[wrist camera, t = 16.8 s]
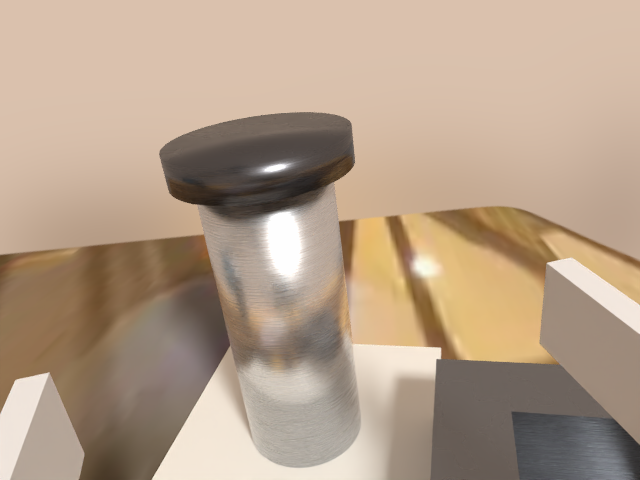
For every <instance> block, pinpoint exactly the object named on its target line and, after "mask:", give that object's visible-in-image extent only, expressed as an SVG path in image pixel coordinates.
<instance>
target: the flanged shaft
mask: <svg viewBox="0 0 640 480" xmlns="http://www.w3.org/2000/svg"><path fill="white" fill-rule="evenodd" d="M159 155H160V159H161V163H162V167H163V171H164V174H165V178H166V182H167V186H168V190H169V193H170V194H171V195H172V196H173V197H175V198H176V199H178V200H181V201H184V202H187V203H191V204H197V205H198V210H199V214H200V218H201V223H202V227H203V231H204V235H205V239H206V244H207V248H208V252H209V256H210V261H211V265H212V269H213V273H214V277H215V282H216V286H217V290H218V294H219V299H220V303H221V307H222V311H223V316H224V320H225V324H226V328H227V332H228V337H229V341H230V345H231V349H232V354H233V358H234V362H235V366H236V370H237V375H238V379H239V383H240V387H241V392H242V396H243V400H244V404H245V408H246V413H247V417H248V421H249V425H250V430H251V434H252V438H253V441H254V444H255V446H256V448H257V450H258V451H259V452H260V453H261V454H262V455H263V456H264V457H265V458H266V459H268V460H269V461H271V462H273V463H276V464H278V465H281V466H285V467H291V468H307V467H313V466H317V465H321V464H324V463H326V462H329V461H331V460H333V459H335V458H337V457H338V456H340V455H341V454H343V453H344V452H345V451H346V450H347V449H348V448H349V447H350V446H351V445H352V444H353V443H354V441H355V440H356V438H357V436H358V434H359V431H360V428H361V411H360V402H359V394H358V385H357V376H356V368H355V359H354V351H353V342H352V333H351V325H350V316H349V308H348V299H347V290H346V282H345V273H344V265H343V256H342V247H341V239H340V230H339V221H338V213H337V205H336V196H335V188H334V181H336V180H338V179H340V178H341V177H343V176H344V175H346V174H347V173H348V172H349V171H350V170H351V169H352V167H353V166H354V163H355V157H354V146H353V136H352V126H351V122H350V121H349V120H347V119H346V118H344V117H341V116H337V115H333V114H326V113H313V112H312V113H311V112H300V113H281V114H270V115H261V116H254V117H248V118H243V119H237V120H232V121H228V122H223V123H219V124H215V125H211V126H208V127H204V128H201V129H198V130H195V131H192V132H189V133H187V134H185V135H182V136H180V137H178V138H176V139H174V140H172V141H170V142H169V143H167V144H166V145H165V146H164V147H163V148H162V149H161V150H160V154H159Z"/></svg>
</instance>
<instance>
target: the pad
mask: <svg viewBox="0 0 640 480" xmlns="http://www.w3.org/2000/svg"><path fill="white" fill-rule="evenodd" d="M353 351H354V359H355V368H356V376H357V385H358V394H359V402H360V411H361V428H360V431H359V434H358V436H357V438H356V440H355V441H354V443H353V444H352V445H351V446H350V447H349V448H348V449H347V450H346V451H345V452H344V453H343V454H341V455H340V456H338V457H337V458H335V459H333V460H331V461H329V462H326V463H324V464H321V465H317V466H313V467H307V468H291V467H285V466H281V465H278V464H276V463H273V462H271V461H269V460H268V459H266V458H265V457H264V456H263V455H262V454H261V453H260V452H259V451H258V450H257V448H256V446H255V444H254V441H253V438H252V434H251V430H250V425H249V421H248V417H247V413H246V408H245V404H244V400H243V396H242V392H241V387H240V383H239V379H238V375H237V370H236V366H235V362H234V358H233V354H232V349H231V345H230V347H229V349H228V350H227V352H226V354H225V356H224V357H223V359H222V361H221V362H220V364H219V366H218V367H217V369H216V371H215V373H214V374H213V376H212V378H211V379H210V381H209V383H208V385H207V386H206V388H205V390H204V391H203V393H202V395H201V396H200V398H199V400H198V402H197V403H196V405H195V407H194V408H193V410H192V412H191V414H190V415H189V417H188V419H187V420H186V422H185V424H184V426H183V427H182V429H181V431H180V432H179V434H178V436H177V437H176V439H175V441H174V443H173V444H172V446H171V448H170V449H169V451H168V453H167V455H166V456H165V458H164V460H163V461H162V463H161V465H160V466H159V468H158V470H157V472H156V473H155V475H154V477H153V478H152V480H430V477H431V457H432V437H433V417H434V396H435V376H436V359H441V348H434V347H411V346H387V345H363V344H353Z"/></svg>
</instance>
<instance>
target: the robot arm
mask: <svg viewBox="0 0 640 480" xmlns="http://www.w3.org/2000/svg"><path fill="white" fill-rule="evenodd" d="M540 344H541V345H542V346H543V347H544V348H545V349H546V350H547V351H548V353H549V354H550V355H551V356H552V357H553V358H554V359H555V360H556V361H557V362H558V363H559V364H560V365H561V366H562V367H563V368H564V369H565V370H566V371H567V372H568V373H569V374H570V375H571V376H572V377H573V378H574V379H575V380H576V381H577V382H578V383H579V384H580V385H581V386H582V387H583V388H584V389H585V390H586V391H587V392H588V393H589V394H590V395H591V396H592V397H593V398H594V399H595V400H596V401H597V402H598V403H599V404H600V405H601V406H602V407H603V408H604V409H605V410H606V411H607V412H608V413H609V414H610V415H611V416H612V417H613V418H614V419H615V420H616V421H617V422H618V423H619V424H620V425H621V426H622V427H623V428H624V429H625V430H626V431H627V432H628V433H629V434H630V435H631V436H632V437H633V438H634V439H635V441H636V442H637V443H638V444H639V445H640V305H639V304H637V303H636V302H634V301H633V300H632V299H630V298H629V297H627V296H626V295H625V294H623V293H622V292H620V291H619V290H617V289H616V288H615V287H613V286H612V285H610V284H609V283H607V282H606V281H605V280H603V279H602V278H600V277H599V276H597V275H596V274H595V273H593V272H592V271H590V270H589V269H587V268H586V267H585V266H583V265H582V264H580V263H579V262H577V261H576V260H575V259H573V258H567V259H562V260H558V261H553V262H549V263H547V264H546V276H545V287H544V298H543V309H542V320H541V332H540ZM84 455H85V454H84V452H83V449H82V447H81V445H80V442H79V440H78V438H77V436H76V433H75V431H74V429H73V426H72V424H71V422H70V419H69V417H68V415H67V412H66V410H65V408H64V405H63V403H62V401H61V399H60V396H59V394H58V392H57V389H56V387H55V385H54V382H53V380H52V378H51V375H50V373H45V374H41V375H36V376H32V377H27V378H22V379H18V380H15V383H14V385H13V387H12V389H11V392H10V394H9V396H8V398H7V400H6V403H5V405H4V407H3V409H2V412H1V414H0V480H79V477H80V472H81V468H82V464H83V459H84Z"/></svg>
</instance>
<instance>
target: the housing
mask: <svg viewBox="0 0 640 480" xmlns="http://www.w3.org/2000/svg"><path fill="white" fill-rule="evenodd" d="M430 480H640V445H639V444H638V443H637V442H636V441H635V439H634V438H633V437H632V436H631V435H630V434H629V433H628V432H627V431H626V430H625V429H624V428H623V427H622V426H621V425H620V424H619V423H618V422H617V421H616V420H615V419H614V418H613V417H612V416H611V415H610V414H609V413H608V412H607V411H606V410H605V409H604V408H603V407H602V406H601V405H600V404H599V403H598V402H597V401H596V400H595V399H594V398H593V397H592V396H591V395H590V394H589V393H588V392H587V391H586V390H585V389H584V388H583V387H582V386H581V385H580V384H579V383H578V382H577V381H576V380H575V379H574V378H573V377H572V376H571V375H570V374H569V373H568V372H567V371H566V370H565V369H564V368H563V367H562V366H561V365H554V364H533V363H512V362H491V361H469V360H448V359H436V376H435V396H434V417H433V437H432V457H431V477H430Z"/></svg>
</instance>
